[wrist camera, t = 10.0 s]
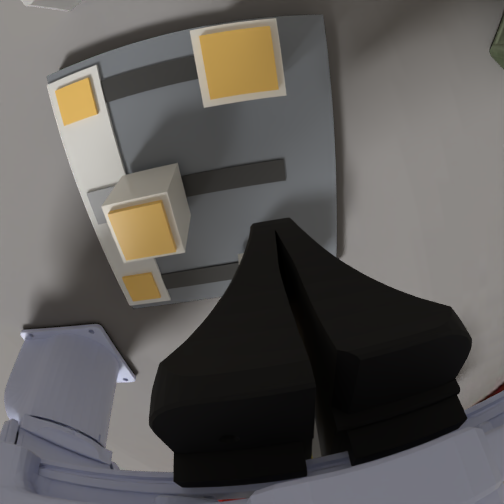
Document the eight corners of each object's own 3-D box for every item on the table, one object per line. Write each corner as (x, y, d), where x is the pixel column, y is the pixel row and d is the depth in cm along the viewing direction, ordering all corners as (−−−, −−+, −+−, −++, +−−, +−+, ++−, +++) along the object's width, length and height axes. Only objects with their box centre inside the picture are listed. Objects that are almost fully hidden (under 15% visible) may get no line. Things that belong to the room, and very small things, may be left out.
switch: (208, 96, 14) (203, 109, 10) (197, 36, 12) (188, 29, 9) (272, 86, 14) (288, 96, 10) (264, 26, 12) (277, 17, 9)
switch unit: (135, 297, 22) (131, 312, 21) (56, 74, 13) (42, 77, 12) (331, 266, 22) (337, 281, 21) (316, 16, 13) (325, 13, 12)
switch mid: (138, 224, 17) (122, 266, 14) (122, 175, 15) (99, 209, 12) (190, 215, 17) (184, 256, 14) (177, 162, 15) (165, 194, 12)
